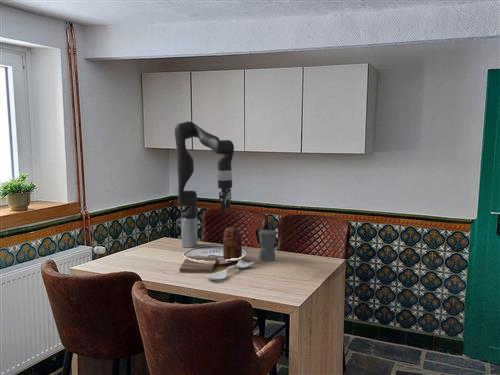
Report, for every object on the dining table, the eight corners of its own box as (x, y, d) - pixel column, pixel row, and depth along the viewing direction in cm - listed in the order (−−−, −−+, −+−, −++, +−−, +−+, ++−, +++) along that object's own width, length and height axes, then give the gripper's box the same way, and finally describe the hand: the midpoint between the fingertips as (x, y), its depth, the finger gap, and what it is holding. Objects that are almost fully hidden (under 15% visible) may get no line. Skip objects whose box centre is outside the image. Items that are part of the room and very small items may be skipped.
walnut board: (187, 259, 261) (187, 256, 260) (217, 260, 260) (217, 256, 260) (179, 272, 239) (179, 268, 239) (211, 272, 238) (211, 268, 238)
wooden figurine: (219, 260, 259) (219, 227, 257) (225, 257, 265) (224, 225, 263) (239, 263, 254) (238, 229, 252) (244, 260, 260) (244, 227, 257)
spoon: (255, 267, 248) (255, 260, 248) (217, 284, 222) (217, 277, 221) (241, 264, 253) (241, 257, 253) (202, 281, 227) (201, 273, 226)
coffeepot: (282, 259, 260) (282, 227, 258) (269, 263, 254) (270, 229, 251) (261, 254, 271) (261, 222, 269) (249, 257, 265) (249, 225, 262)
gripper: (221, 177, 258) (222, 207, 260) (213, 180, 244) (214, 212, 246) (235, 177, 256) (236, 207, 258) (228, 180, 242) (228, 212, 244)
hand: (225, 209), depth 252 cm, fingers open, 8 cm apart
